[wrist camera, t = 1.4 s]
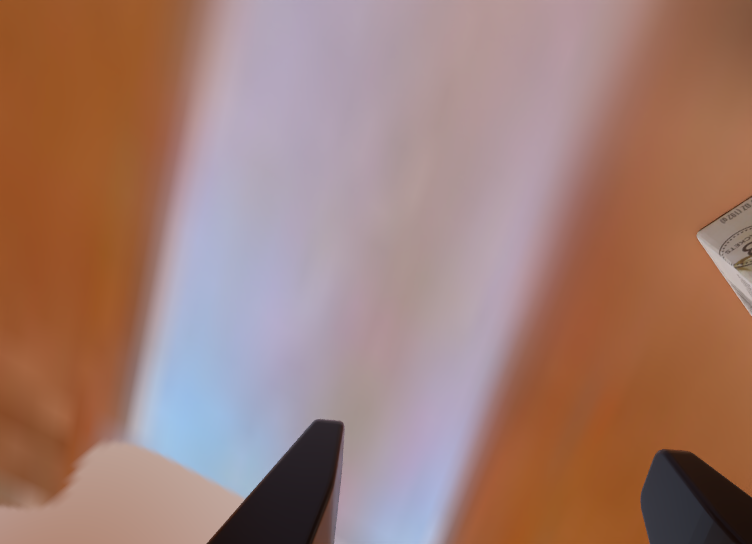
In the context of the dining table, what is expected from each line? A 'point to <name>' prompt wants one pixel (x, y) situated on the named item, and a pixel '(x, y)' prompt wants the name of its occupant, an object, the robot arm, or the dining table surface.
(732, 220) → the coffee box
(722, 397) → the dining table surface
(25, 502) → the dining table surface
